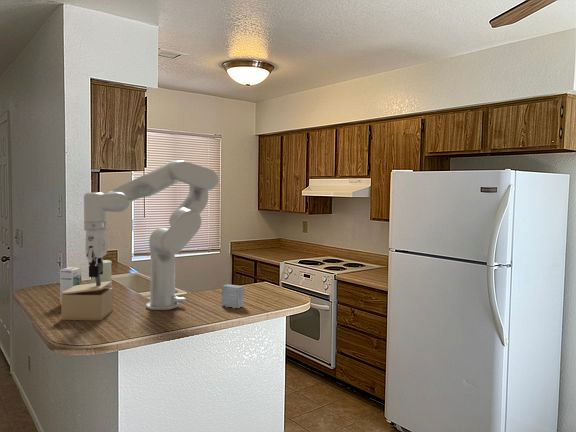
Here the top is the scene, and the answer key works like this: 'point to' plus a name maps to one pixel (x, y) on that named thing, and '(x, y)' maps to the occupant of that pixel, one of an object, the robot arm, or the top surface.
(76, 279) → the syrup box
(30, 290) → the top surface
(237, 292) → the medicine box
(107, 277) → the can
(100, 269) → the lid
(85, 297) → the wooden box
